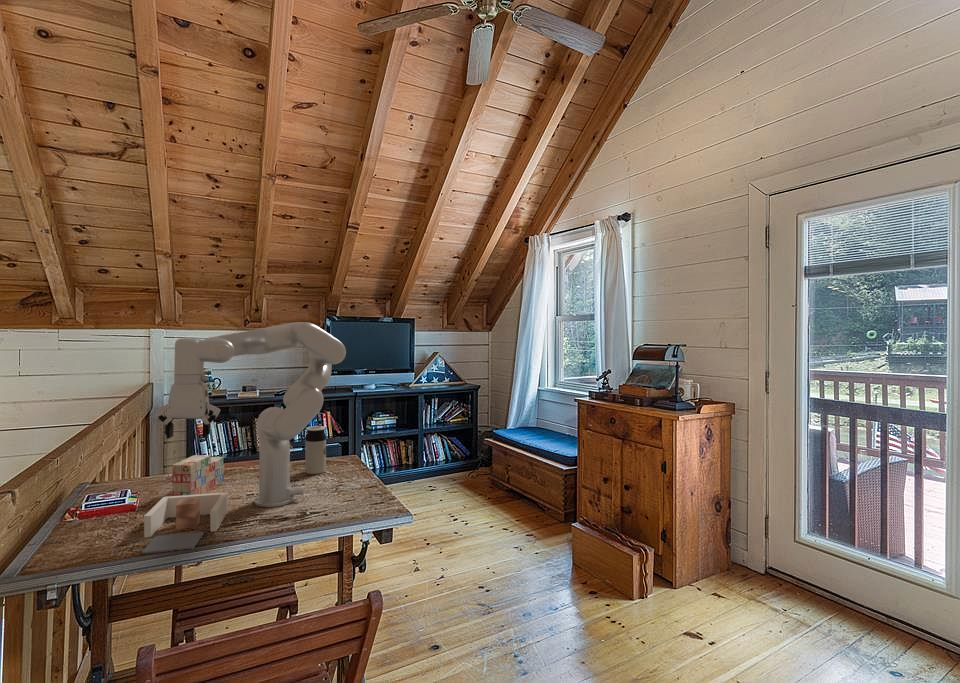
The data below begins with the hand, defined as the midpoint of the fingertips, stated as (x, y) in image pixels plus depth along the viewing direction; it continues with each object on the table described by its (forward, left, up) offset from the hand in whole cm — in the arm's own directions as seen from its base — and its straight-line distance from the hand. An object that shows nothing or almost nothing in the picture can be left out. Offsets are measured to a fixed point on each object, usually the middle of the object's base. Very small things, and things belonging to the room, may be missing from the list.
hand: (187, 437), depth 147 cm
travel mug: (-35, -45, -26) cm, 62 cm away
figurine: (-23, -49, -26) cm, 59 cm away
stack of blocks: (+4, -31, -26) cm, 40 cm away
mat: (-1, +15, -26) cm, 30 cm away
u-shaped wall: (-1, +1, -25) cm, 25 cm away
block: (-1, +2, -26) cm, 26 cm away
